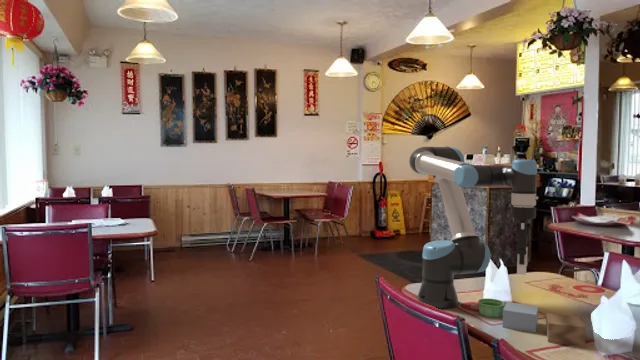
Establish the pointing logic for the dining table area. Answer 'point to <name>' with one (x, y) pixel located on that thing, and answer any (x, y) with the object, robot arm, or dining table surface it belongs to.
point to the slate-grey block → (520, 317)
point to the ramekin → (491, 307)
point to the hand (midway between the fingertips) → (522, 269)
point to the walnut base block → (565, 330)
